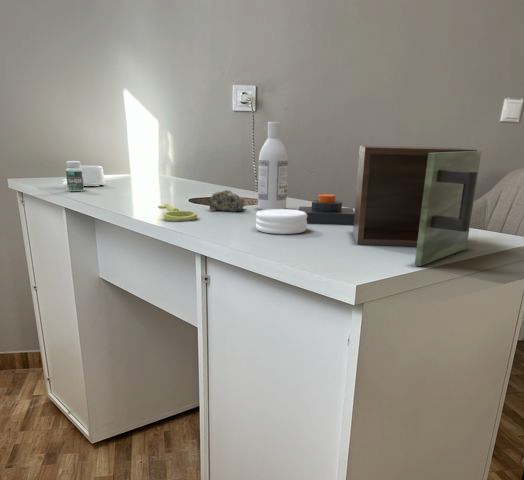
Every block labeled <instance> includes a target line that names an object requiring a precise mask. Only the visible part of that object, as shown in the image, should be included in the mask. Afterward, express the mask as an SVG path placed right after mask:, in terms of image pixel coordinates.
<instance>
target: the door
mask: <svg viewBox="0 0 524 480" xmlns="http://www.w3.org/2000/svg"><path fill="white" fill-rule="evenodd" d="M481 157H482V150H477V151H461V152H437V153H428V160H427V169H426V177H425V185H424V193H423V201H422V209H421V217H420V226H419V234H418V242H417V247H416V250H415V251H416V252H415V259H414V266H418V267H421V266H422V267H423V266H425V265H427V264H429V263H433V262H435V261H437V260H441V259H442V258H443V259H444V258H445V257H448V256H451V255H454V254H455V253H458V252H461V251H465V250H467V247H468V242H469V241H468V240H469V234H470V228H471V222H472V215H473V208H474V202H475V197H476V189H477V184H478V182H477V181H478V177H479V172H480V171H479V169H480V164H481Z"/></svg>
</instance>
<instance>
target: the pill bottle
mask: <svg viewBox="0 0 524 480" xmlns="http://www.w3.org/2000/svg"><path fill="white" fill-rule="evenodd" d="M65 163H66V169H65V176H66V186H67V191H68V192H71V191H81V192H84V191H85V187H84V183H83V171H82V169H81V168H80V167H81V166H82V164H81V161H77V160H67V161H66V162H65Z"/></svg>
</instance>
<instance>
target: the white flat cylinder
mask: <svg viewBox="0 0 524 480" xmlns="http://www.w3.org/2000/svg"><path fill="white" fill-rule="evenodd" d="M255 216H256V219H255V222H256V225H255V228H256V230H257V231H259V232H261V233H266V234H274V235H295V234H301V233H304V232H306V230H307V229H308V227H307V224H308V223H307V220H306V218H307V214H306V213H305V212H303V211H299V209H288V208H287V209H267V210H258V211H257V212H256V214H255Z"/></svg>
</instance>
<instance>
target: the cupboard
mask: <svg viewBox="0 0 524 480" xmlns="http://www.w3.org/2000/svg"><path fill="white" fill-rule="evenodd" d="M461 151H478V149H474V148H466V147H446V146H445V147H444V146H443V147H442V146H403V145H401V146H400V145H362V144H361V145H360V144H359V152H358V163H357V175H356V176H357V178H356V190H355V202H354V225H352V226H353V227H352V234H353V237H354V239H355V242H356V244H357V245H362V246H363V245H365V246H390V247H416V248H417V242H418V234H419V226H420V217H421V209H422V201H423V193H424V185H425V177H426V169H427V160H428V153H437V152H461Z"/></svg>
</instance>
